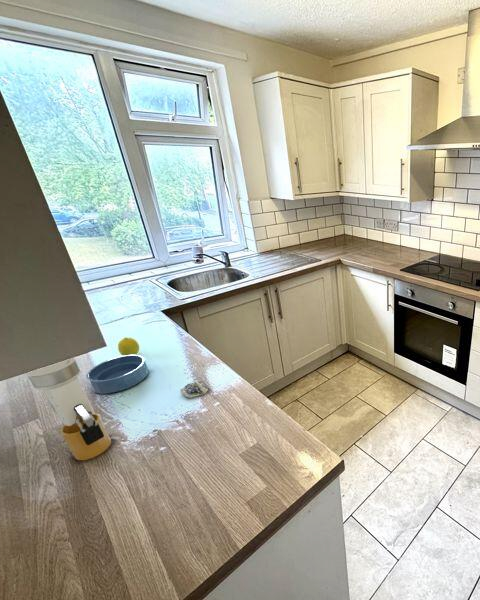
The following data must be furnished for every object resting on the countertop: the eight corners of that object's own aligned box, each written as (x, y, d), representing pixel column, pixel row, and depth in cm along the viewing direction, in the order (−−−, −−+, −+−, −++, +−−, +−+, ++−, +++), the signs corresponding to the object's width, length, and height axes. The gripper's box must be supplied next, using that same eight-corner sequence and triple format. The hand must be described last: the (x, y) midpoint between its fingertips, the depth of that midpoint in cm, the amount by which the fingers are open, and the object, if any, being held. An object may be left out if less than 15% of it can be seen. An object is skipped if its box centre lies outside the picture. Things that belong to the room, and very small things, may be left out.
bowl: (105, 401, 95) (98, 387, 93) (84, 385, 101) (78, 372, 99) (157, 375, 106) (152, 362, 104) (136, 362, 112) (131, 350, 110)
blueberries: (194, 381, 103) (192, 376, 103) (215, 385, 101) (213, 380, 101) (175, 395, 97) (173, 390, 97) (197, 400, 95) (196, 395, 95)
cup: (81, 465, 75) (67, 439, 72) (69, 452, 78) (55, 427, 75) (116, 444, 81) (104, 419, 77) (104, 433, 84) (92, 409, 81)
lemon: (145, 355, 116) (138, 336, 113) (127, 363, 112) (119, 343, 109) (137, 351, 119) (130, 332, 116) (119, 358, 115) (111, 339, 111)
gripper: (17, 370, 72) (52, 429, 79) (46, 396, 64) (81, 459, 71) (62, 353, 78) (91, 409, 84) (94, 375, 70) (122, 435, 76)
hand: (86, 432), depth 77 cm, fingers open, 9 cm apart
